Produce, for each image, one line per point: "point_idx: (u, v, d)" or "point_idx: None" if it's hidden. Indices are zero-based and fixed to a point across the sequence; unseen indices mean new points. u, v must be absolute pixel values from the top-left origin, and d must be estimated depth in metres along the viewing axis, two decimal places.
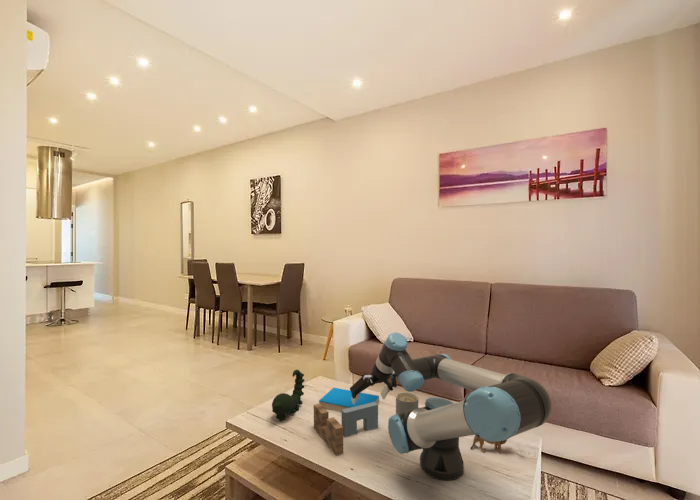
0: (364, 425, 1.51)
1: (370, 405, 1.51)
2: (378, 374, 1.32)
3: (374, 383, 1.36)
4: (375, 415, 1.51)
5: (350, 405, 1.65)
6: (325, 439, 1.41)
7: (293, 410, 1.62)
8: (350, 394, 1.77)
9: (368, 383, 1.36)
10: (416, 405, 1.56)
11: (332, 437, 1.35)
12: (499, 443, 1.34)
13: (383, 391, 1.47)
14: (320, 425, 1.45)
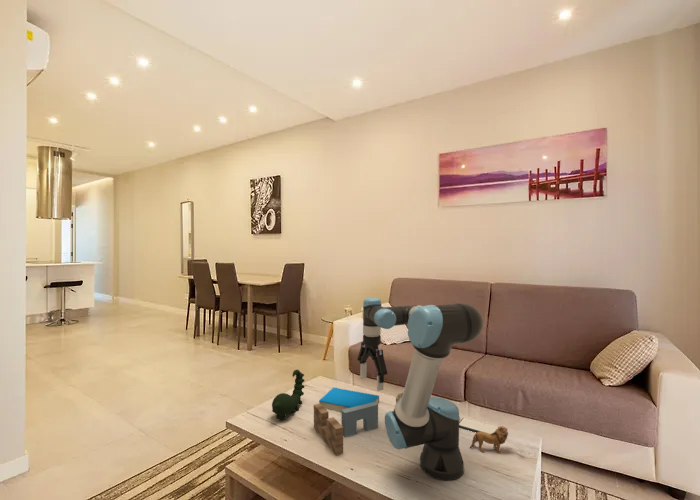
0: (364, 425, 1.51)
1: (370, 405, 1.51)
2: None
3: (365, 351, 1.52)
4: (375, 415, 1.51)
5: (350, 405, 1.65)
6: (325, 439, 1.41)
7: (293, 410, 1.62)
8: (350, 394, 1.77)
9: None
10: None
11: (332, 437, 1.35)
12: (498, 443, 1.34)
13: None
14: (320, 425, 1.45)
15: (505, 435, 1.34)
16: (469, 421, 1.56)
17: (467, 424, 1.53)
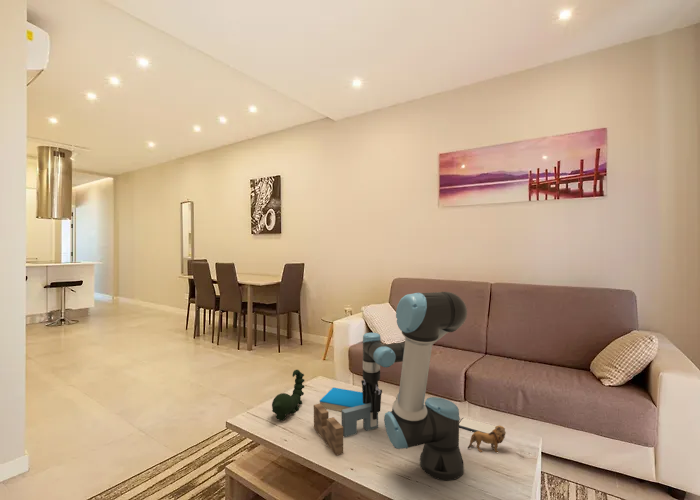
0: (364, 425, 1.51)
1: (370, 405, 1.51)
2: None
3: (366, 388, 1.52)
4: None
5: (351, 405, 1.65)
6: (325, 439, 1.41)
7: (293, 410, 1.62)
8: (350, 394, 1.77)
9: None
10: None
11: (332, 437, 1.35)
12: (496, 442, 1.34)
13: None
14: (320, 425, 1.45)
15: (503, 434, 1.35)
16: (468, 421, 1.56)
17: (466, 424, 1.53)
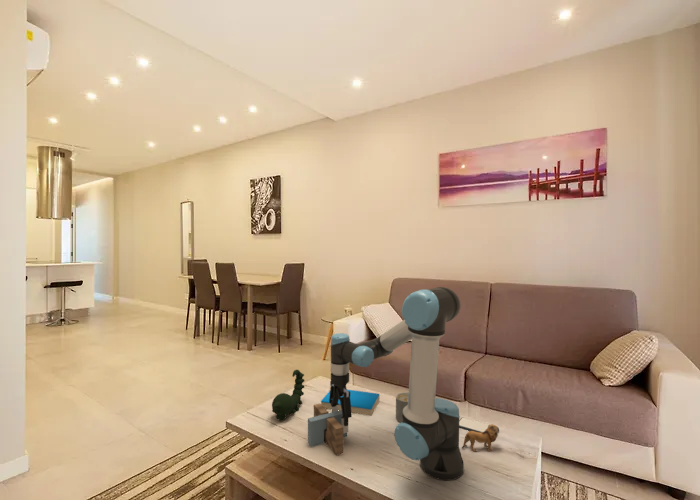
0: None
1: (339, 413, 1.44)
2: None
3: (334, 391, 1.46)
4: None
5: (353, 404, 1.66)
6: (325, 439, 1.41)
7: (293, 410, 1.62)
8: (351, 393, 1.78)
9: None
10: None
11: (332, 437, 1.35)
12: (489, 441, 1.35)
13: None
14: None
15: (496, 433, 1.36)
16: (467, 421, 1.56)
17: (465, 424, 1.53)
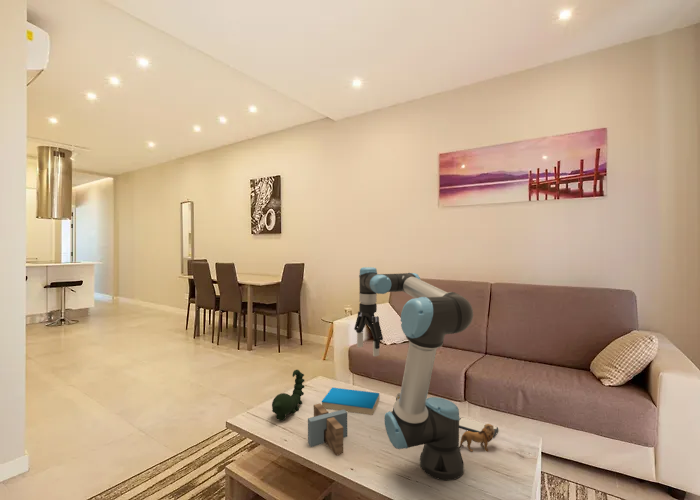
0: None
1: (339, 413, 1.44)
2: None
3: (361, 320, 1.56)
4: (344, 423, 1.44)
5: (354, 404, 1.66)
6: (325, 439, 1.41)
7: (293, 410, 1.62)
8: (351, 393, 1.78)
9: None
10: None
11: (332, 437, 1.35)
12: (486, 441, 1.35)
13: None
14: None
15: (492, 433, 1.36)
16: (467, 421, 1.56)
17: (464, 424, 1.53)
